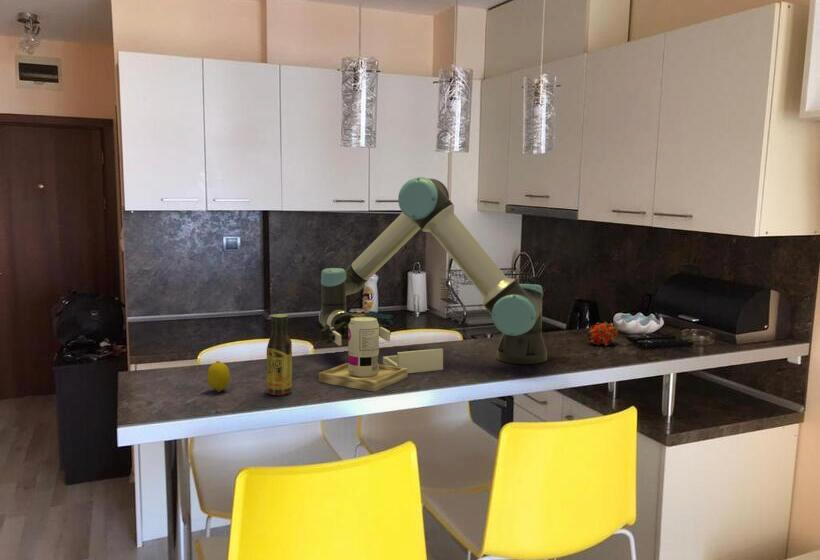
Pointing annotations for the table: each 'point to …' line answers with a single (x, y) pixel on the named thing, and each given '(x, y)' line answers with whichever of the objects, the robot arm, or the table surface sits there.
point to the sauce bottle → (279, 357)
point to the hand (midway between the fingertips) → (364, 338)
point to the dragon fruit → (603, 333)
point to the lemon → (218, 376)
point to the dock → (417, 360)
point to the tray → (373, 383)
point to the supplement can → (363, 346)
